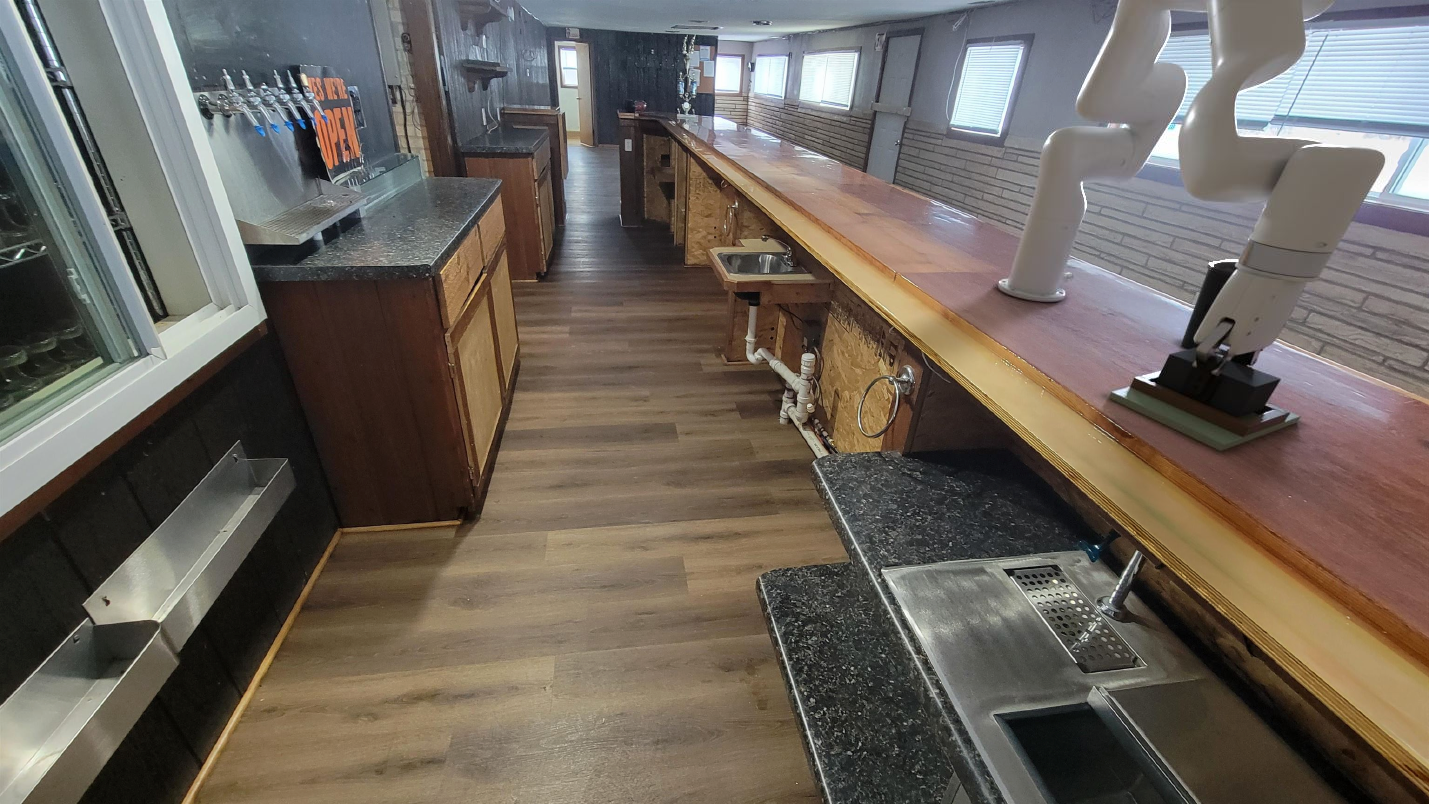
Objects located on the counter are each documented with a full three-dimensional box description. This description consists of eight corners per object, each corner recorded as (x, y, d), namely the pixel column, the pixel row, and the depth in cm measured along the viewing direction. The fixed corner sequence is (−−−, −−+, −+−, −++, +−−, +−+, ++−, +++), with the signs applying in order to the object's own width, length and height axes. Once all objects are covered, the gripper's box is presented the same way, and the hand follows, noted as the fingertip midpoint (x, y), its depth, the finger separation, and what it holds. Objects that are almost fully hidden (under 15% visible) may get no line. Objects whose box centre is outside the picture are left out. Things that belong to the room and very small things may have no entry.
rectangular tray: (1184, 377, 85) (1191, 362, 84) (1297, 422, 74) (1307, 406, 73) (1108, 397, 79) (1115, 382, 77) (1220, 451, 68) (1231, 433, 66)
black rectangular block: (1155, 383, 78) (1169, 353, 76) (1180, 376, 81) (1195, 347, 78) (1237, 418, 71) (1255, 386, 68) (1262, 409, 73) (1281, 378, 71)
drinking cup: (1175, 335, 100) (1231, 220, 91) (1229, 349, 96) (1294, 229, 86) (1166, 346, 96) (1224, 226, 86) (1222, 361, 91) (1290, 236, 81)
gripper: (1281, 247, 73) (1213, 371, 82) (1204, 257, 66) (1140, 391, 75) (1357, 263, 67) (1275, 395, 76) (1281, 276, 60) (1201, 419, 69)
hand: (1208, 392), depth 75 cm, fingers closed on black rectangular block, 6 cm apart
